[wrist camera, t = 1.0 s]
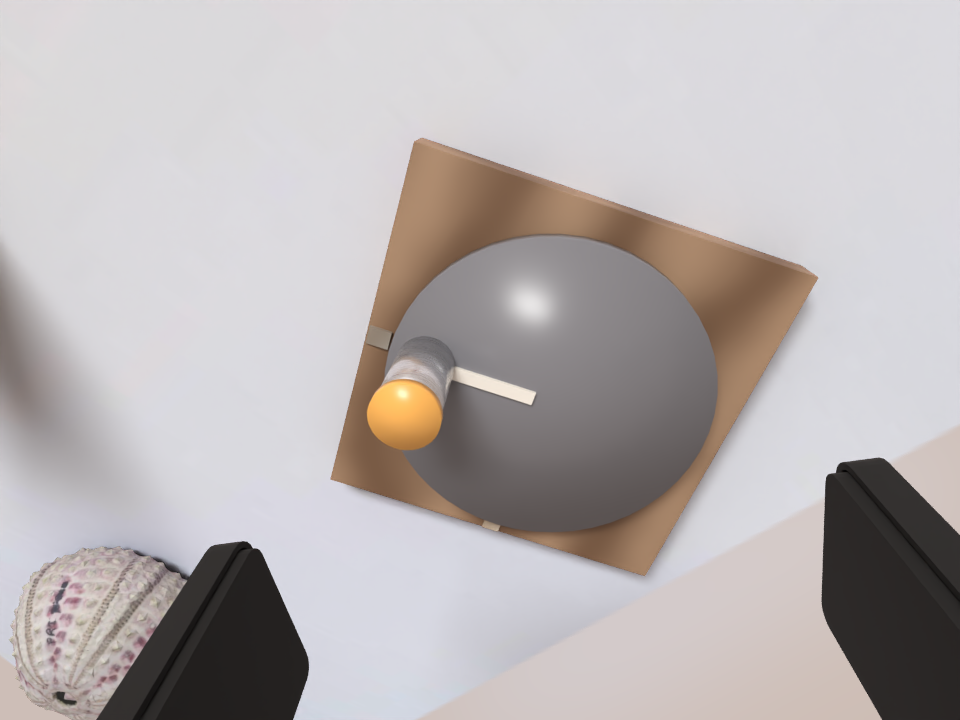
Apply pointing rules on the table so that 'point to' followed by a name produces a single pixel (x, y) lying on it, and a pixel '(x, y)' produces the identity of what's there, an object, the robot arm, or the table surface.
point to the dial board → (562, 210)
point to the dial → (548, 383)
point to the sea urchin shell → (87, 626)
